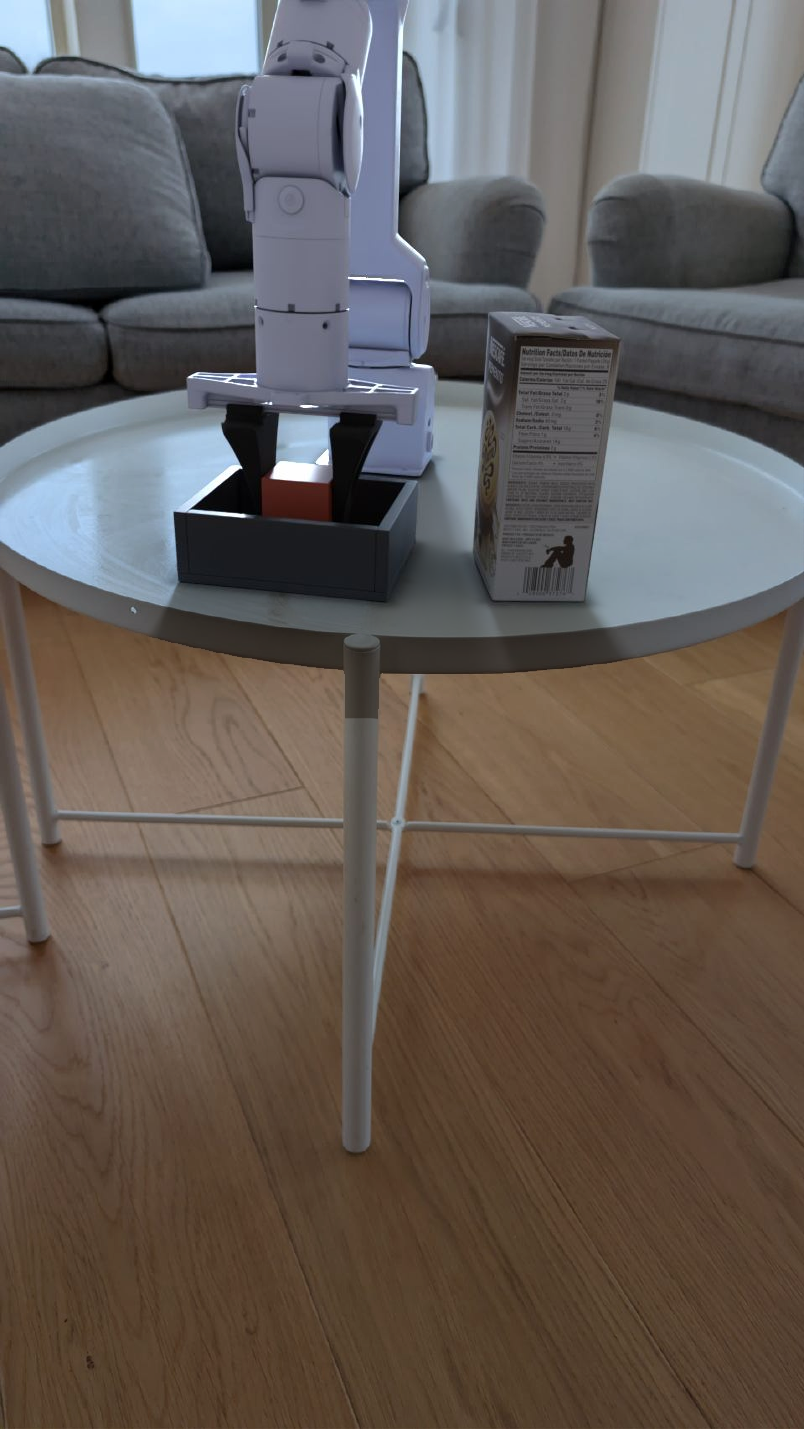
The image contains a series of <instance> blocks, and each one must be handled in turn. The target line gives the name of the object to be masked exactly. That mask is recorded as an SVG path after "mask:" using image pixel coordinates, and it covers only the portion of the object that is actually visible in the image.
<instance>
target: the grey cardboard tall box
mask: <svg viewBox="0 0 804 1429" xmlns="http://www.w3.org/2000/svg"><path fill="white" fill-rule="evenodd" d="M487 317H488V318H487V319H488V320H487V334H486V350H485V363H484V380H483V394H482V410H481V423H480V424H481V425H480V437H479V438H480V440H479V452H478V453H479V455H478V469H477V481H476V496H475V497H476V499H475V509H474V510H475V511H474V525H473V539H472V540H473V541H472V555H473V558H474V561H475V562H476V565H477V567H478V569H479V572H480V575H481V577H482V580H483V581H484V584H485V586H486V589H487V592H488V593H489V597H490V598H491V600H492V601H499V602H500V601H502V602H584V601H586V597H587V593H588V592H587V590H588V583H589V577H590V576H589V575H590V567H591V561H592V554H593V546H594V540H595V533H596V526H597V519H598V512H599V507H600V506H599V505H600V498H601V492H602V484H603V477H604V470H605V463H606V456H607V449H608V441H609V435H610V430H611V421H612V414H613V407H614V398H615V391H616V384H617V378H618V377H617V376H618V370H619V362H620V355H621V354H620V353H621V349H622V348H621V347H622V341H623V340H622V338H621V337H618V336H617V335H615V334H613V333H611V332H610V331H608V330H607V329H605V328H604V327H601V326H600V325H598V324H597V323H595V322H594V321H591V320H590V319H588V318H586V317H585V316H584V315H555V314H552V313H551V314H550V313H540V312H527V311H490V312H488V314H487Z"/></svg>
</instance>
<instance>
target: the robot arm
mask: <svg viewBox="0 0 804 1429" xmlns="http://www.w3.org/2000/svg"><path fill="white" fill-rule="evenodd" d="M409 2H410V0H278V2H277V8H276V11H275V15H274V19H273V24H272V28H271V32H270V36H269V40H268V45H267V49H266V52H265V58H264V62H263V66H262V69H261V74H257V75H256V76H254V78H253V80H252V83H251V85H248V84H244V85H242V86H241V87H240V90H239V91H238V95H237V100H236V107H235V122H234V123H235V125H234V126H235V127H234V128H235V129H234V131H235V147H236V148H235V149H236V156H237V157H236V158H237V163H238V167H239V172H240V178H241V182H242V190H243V211H244V212H245V220H246V221H247V222H250V223H251V228H252V229H251V232H252V254H253V255H252V260H253V261H252V263H253V266H252V267H253V296H254V297H253V300H254V302H253V303H254V334H255V335H254V336H255V338H254V340H255V369H256V371H255V372H256V373H215V372H214V373H213V372H198V371H197V372H195V373H193V374H191V375H189V376H187V377H186V391H187V392H186V393H187V406H188V407H187V408H188V409H190V410H205V409H207V408H210V409H211V408H212V409H223V410H224V409H225V412H226V413H225V418H224V420H222V421H221V422H220V426H221V432H222V435H223V437H224V438H225V440H226V442H227V443H228V445H229V446H230V448H231V450H232V451H233V453H234V455H235V457H236V459H237V461H238V463H239V466H241V467H242V470H243V472H244V474H245V477H246V479H247V482H248V485H249V488H250V490H251V494H252V497H253V500H254V504H255V508H256V512H257V515H258V516H263V514H262V477H264V476H265V475H266V474H267V473H268V472H269V471H270V470H271V469H272V468H273V467H275V466H276V465H277V447H278V431H279V422H280V414H289V415H290V414H291V415H302V416H313V417H314V416H316V417H327V450H325V452H324V453H323V454H322V455H321V456H320V457H319V458H318V459H317V460H316V461H315V462H314V464H319V465H331V466H332V468H333V499H332V522H336V523H348V524H349V517H350V511H351V506H352V501H353V497H354V493H355V490H356V486H357V483H358V480H359V477H360V476H361V474H362V473H371V474H385V475H386V474H387V475H395V476H396V475H397V476H407V477H409V476H410V477H421V475H422V474H423V473H424V471H425V470H426V468H427V466H428V464H429V462H430V460H431V459H432V457H433V453H434V452H433V447H434V419H435V418H434V416H435V401H436V400H435V398H436V373H435V369H434V367H433V366H431V365H427V364H417V363H414V362H413V361H414V360H415V359H416V360H418V359H420V358H421V356H422V355H424V354H425V352H426V351H427V348H428V342H429V335H430V323H431V290H430V268H429V267H428V264H427V261H426V258H424V257H423V256H422V255H421V254H420V253H419V252H418V251H417V250H416V249H414V247H412V246H411V245H410V244H409V243H408V242H407V241H406V240H405V239H403V237H401V236H400V234H399V232H398V231H399V197H400V196H399V192H400V160H401V158H400V155H401V154H400V153H401V121H402V120H401V119H402V118H401V117H402V85H403V84H402V83H403V82H402V80H403V46H404V44H403V43H404V42H403V41H404V40H403V39H404V24H405V20H406V15H407V11H408V6H409ZM350 276H363V277H350ZM364 276H365V277H364ZM366 277H367V278H366ZM368 277H381V278H368ZM382 277H383V278H394V279H383V278H382Z"/></svg>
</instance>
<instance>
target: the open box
mask: <svg viewBox="0 0 804 1429" xmlns="http://www.w3.org/2000/svg"><path fill="white" fill-rule="evenodd" d="M418 501H419V480H413V479H408V480H407V479H402V478H390V477H388V478H386V477H376V476H365V475H360V477H359V480H358V483H357V486H356V490H355V493H354V497H353V501H352V506H351V511H350V517H349V524H348V523H336V522H325V521H314V520H303V519H292V518H280V517H269V516H258V515H257V512H256V508H255V504H254V500H253V497H252V494H251V490H250V488H249V485H248V482H247V479H246V477H245V474H244V472H243V470H242V467H241V465H234V464H231V465H230V466H228V467H227V468H226V469H225V470H224V471H222V472H221V473H219V474H218V475H217V476H216V477H215V478H213V480H211V481H210V482H208V483H207V484H206V485H205V486H204V487H202V488H201V489H199V491H197V492H196V493H195V494H194V495H192V496H191V497H190V498H189V499H187V500H186V501H184V502H183V503H182V504H181V505H180V506H179V507H177V508H176V509H174V511H173V512H172V513H173V527H174V540H175V542H174V543H175V556H176V557H175V558H176V570H177V581H178V582H180V583H181V582H182V583H191V584H193V583H194V584H202V585H211V586H222V587H232V588H242V589H250V590H251V589H253V590H261V591H262V590H263V591H273V592H282V593H291V594H303V595H315V596H323V597H332V598H343V599H351V600H352V599H353V600H362V601H363V600H364V601H374V602H385V603H387V602H388V601H389V599H390V596H391V594H392V593H393V590H394V588H395V586H396V584H397V582H398V580H399V578H400V576H401V574H402V572H403V570H404V568H405V566H406V564H407V562H408V560H409V558H410V556H411V554H412V551H413V550H414V548H415V546H416V543H417V525H418V524H417V522H418Z"/></svg>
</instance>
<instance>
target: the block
mask: <svg viewBox="0 0 804 1429" xmlns="http://www.w3.org/2000/svg"><path fill="white" fill-rule="evenodd" d="M332 499H333V468H332V466H331V465H319V464H315V463H304V462H295V461H294V462H293V461H281V460H280V461H279V462H278V463H276V466H275V467H273V468H272V469H271V470H270V471H269V472H268V473H267V474H266V475H265V476H264V477H262V514H263V516H269V517H280V518H292V519H303V520H314V521H325V522H332Z"/></svg>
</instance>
